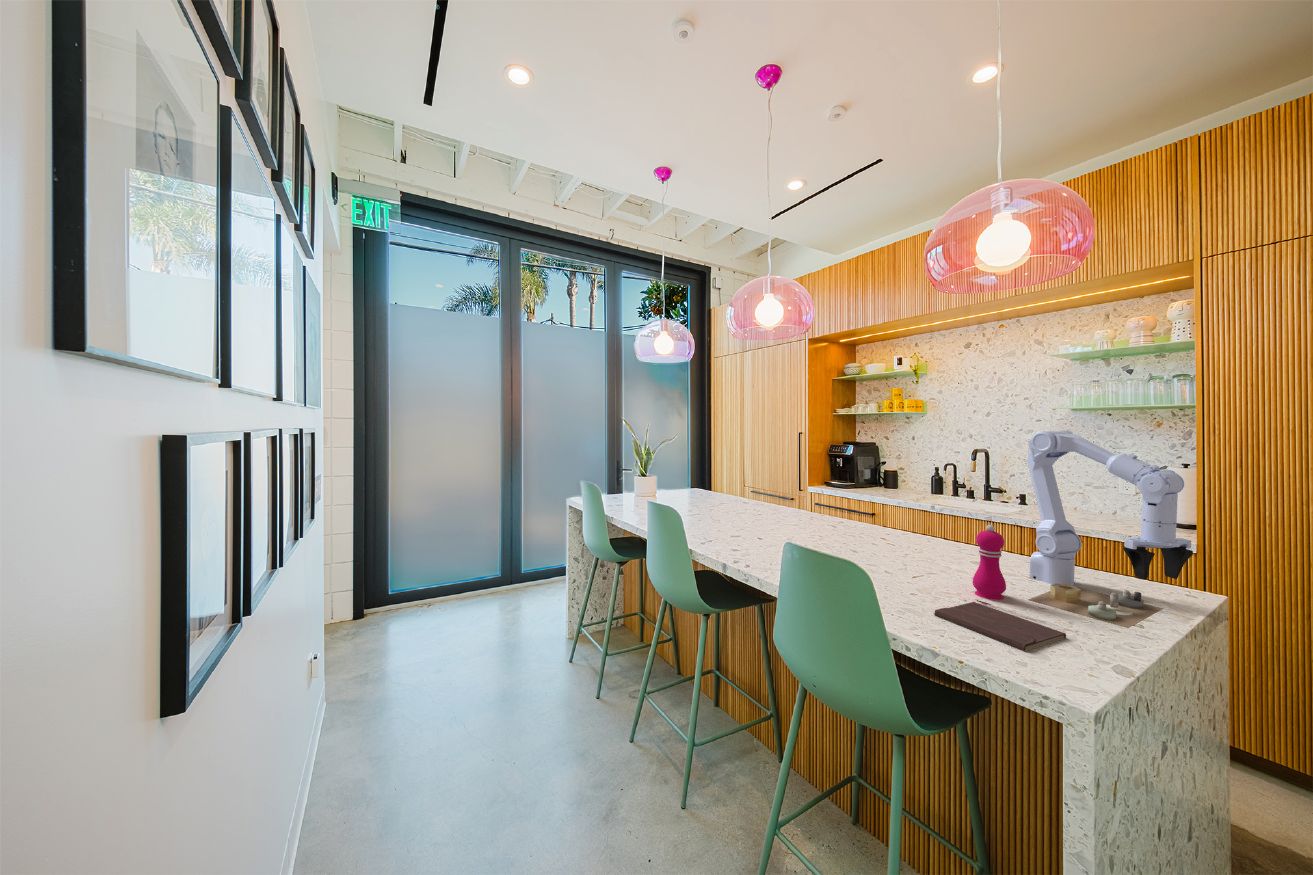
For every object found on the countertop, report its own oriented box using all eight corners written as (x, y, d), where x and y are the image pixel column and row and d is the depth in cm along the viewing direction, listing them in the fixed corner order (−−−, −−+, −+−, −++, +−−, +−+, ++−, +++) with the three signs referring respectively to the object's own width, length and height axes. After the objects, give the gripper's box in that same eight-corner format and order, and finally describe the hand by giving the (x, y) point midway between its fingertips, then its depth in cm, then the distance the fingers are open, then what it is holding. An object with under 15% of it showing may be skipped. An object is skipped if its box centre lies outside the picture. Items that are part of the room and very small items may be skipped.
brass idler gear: (1047, 597, 124) (1047, 585, 123) (1057, 593, 126) (1057, 582, 126) (1073, 604, 119) (1074, 592, 119) (1083, 600, 122) (1083, 588, 121)
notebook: (974, 607, 122) (974, 599, 122) (1066, 640, 104) (1066, 631, 104) (934, 617, 116) (934, 609, 116) (1024, 653, 98) (1024, 644, 98)
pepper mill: (1011, 607, 121) (1013, 528, 120) (979, 605, 123) (981, 527, 122) (997, 596, 128) (999, 522, 127) (967, 594, 130) (968, 521, 129)
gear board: (1027, 605, 122) (1027, 583, 122) (1066, 590, 133) (1066, 569, 133) (1127, 634, 106) (1128, 608, 105) (1163, 614, 116) (1163, 591, 116)
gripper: (1147, 525, 110) (1145, 584, 110) (1207, 524, 110) (1204, 582, 111) (1116, 519, 117) (1114, 574, 117) (1173, 518, 117) (1170, 573, 118)
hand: (1156, 577), depth 115 cm, fingers open, 7 cm apart
